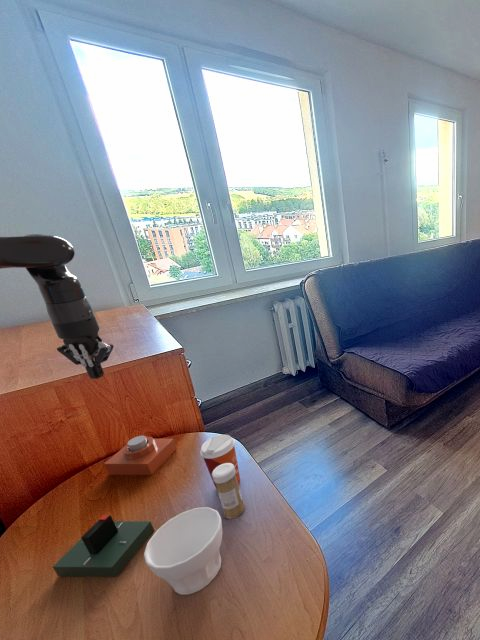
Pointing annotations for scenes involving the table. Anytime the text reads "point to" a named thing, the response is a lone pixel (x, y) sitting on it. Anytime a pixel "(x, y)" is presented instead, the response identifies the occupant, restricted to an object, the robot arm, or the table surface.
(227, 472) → the sprinkles bottle
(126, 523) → the dial panel
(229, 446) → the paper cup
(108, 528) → the dial knob
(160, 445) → the domed button plate
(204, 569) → the cup
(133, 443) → the grey push button
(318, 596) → the table surface
